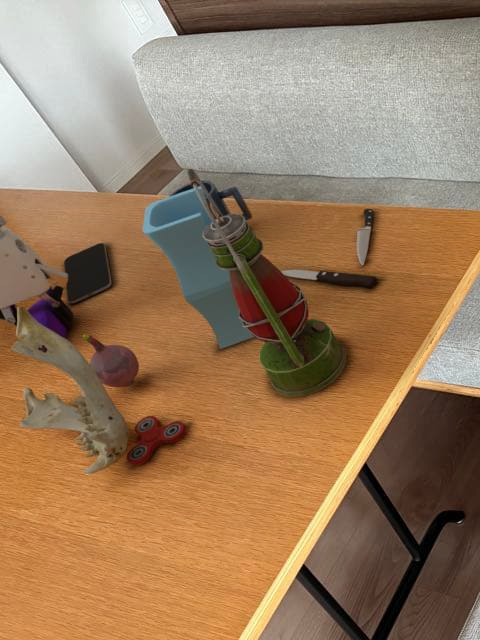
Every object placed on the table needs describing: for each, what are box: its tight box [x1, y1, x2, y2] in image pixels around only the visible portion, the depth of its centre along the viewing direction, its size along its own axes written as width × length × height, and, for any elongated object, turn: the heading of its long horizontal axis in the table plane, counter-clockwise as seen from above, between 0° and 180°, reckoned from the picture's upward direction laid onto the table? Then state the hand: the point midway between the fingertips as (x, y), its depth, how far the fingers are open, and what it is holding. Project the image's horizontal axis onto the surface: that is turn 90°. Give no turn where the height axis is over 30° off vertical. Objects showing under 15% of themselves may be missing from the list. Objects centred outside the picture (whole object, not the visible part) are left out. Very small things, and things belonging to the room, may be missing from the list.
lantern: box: [186, 168, 347, 398], centre depth 97 cm, size 14×11×30 cm
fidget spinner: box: [126, 415, 187, 466], centre depth 104 cm, size 8×7×1 cm
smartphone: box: [64, 242, 113, 304], centre depth 136 cm, size 7×1×15 cm
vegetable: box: [82, 333, 140, 388], centre depth 110 cm, size 6×6×10 cm
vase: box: [142, 186, 255, 350], centre depth 110 cm, size 8×8×20 cm
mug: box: [168, 179, 253, 222], centre depth 132 cm, size 11×8×9 cm
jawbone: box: [10, 305, 130, 475], centre depth 104 cm, size 25×18×10 cm
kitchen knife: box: [280, 269, 378, 289], centre depth 120 cm, size 18×1×2 cm
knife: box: [356, 208, 374, 266], centre depth 125 cm, size 15×1×2 cm
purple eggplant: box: [26, 298, 68, 351], centre depth 125 cm, size 5×5×15 cm
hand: (52, 327), depth 127 cm, fingers closed on purple eggplant, 4 cm apart
